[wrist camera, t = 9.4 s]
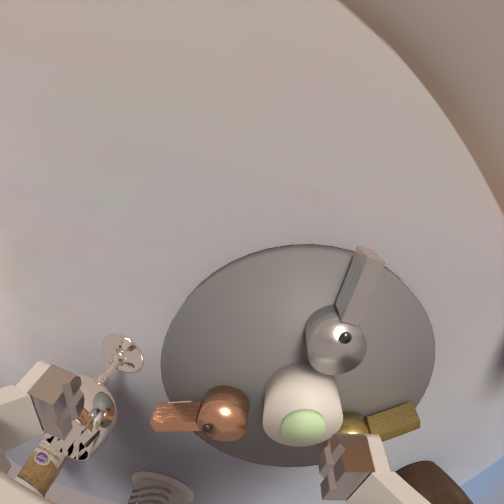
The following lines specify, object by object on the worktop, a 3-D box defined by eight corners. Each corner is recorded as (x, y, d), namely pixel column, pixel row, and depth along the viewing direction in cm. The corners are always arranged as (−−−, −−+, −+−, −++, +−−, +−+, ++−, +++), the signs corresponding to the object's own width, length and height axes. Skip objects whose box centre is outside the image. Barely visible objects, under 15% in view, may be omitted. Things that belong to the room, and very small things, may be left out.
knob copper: (242, 382, 25) (238, 409, 22) (254, 415, 26) (251, 441, 23) (152, 391, 26) (140, 414, 23) (169, 421, 27) (160, 444, 24)
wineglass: (150, 383, 29) (102, 474, 17) (100, 368, 29) (42, 446, 17) (148, 336, 27) (87, 429, 15) (94, 321, 27) (20, 398, 16)
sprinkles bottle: (73, 427, 33) (28, 496, 20) (82, 447, 34) (44, 513, 22) (48, 418, 33) (3, 480, 21) (58, 438, 35) (18, 498, 22)
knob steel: (345, 355, 23) (352, 381, 20) (297, 344, 23) (299, 370, 20) (390, 255, 21) (406, 271, 18) (338, 238, 21) (347, 253, 18)
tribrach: (126, 280, 25) (85, 317, 19) (420, 213, 22) (465, 235, 15) (214, 461, 32) (204, 506, 25) (420, 425, 28) (437, 469, 22)
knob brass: (329, 442, 26) (332, 467, 23) (320, 418, 25) (322, 444, 22) (412, 416, 25) (421, 439, 22) (410, 389, 24) (420, 413, 21)
